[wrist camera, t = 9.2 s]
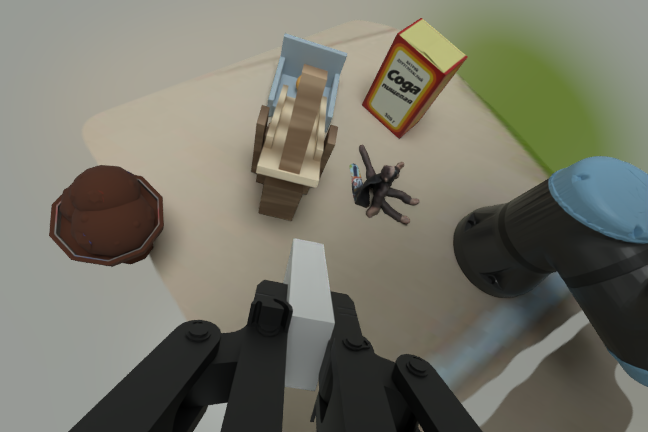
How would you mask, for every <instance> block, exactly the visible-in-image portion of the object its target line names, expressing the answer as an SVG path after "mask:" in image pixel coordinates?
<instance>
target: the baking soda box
mask: <svg viewBox="0 0 648 432" xmlns="http://www.w3.org/2000/svg"><path fill="white" fill-rule="evenodd" d="M466 59H467V56H466V55H465V54H464V53H462V52H461V51H460V50H459V49H458V48H456V47H455V46H454V45H453V44H452V43H451V42H449V41H448V40H447V39H446V38H445V37H443V36H442V35H441V34H440V33H439V32H438V31H436V30H435V29H434V28H433V27H432V26H430V25H429V24H428V23H427V22H426V21H425V20H423V19H422V18H420V19H419V20H417V21H416V22H414V23H413V24H411V25H410V26H408V27H406V28H405V29H403V30H402V31H400V32H399V33H397V35H396V37H395V39H394V41H393V43H392V45H391V47H390V49H389V51H388V53H387V55H386V57H385V59H384V61H383V63H382V65H381V67H380V69H379V71H378V73H377V75H376V77H375V79H374V81H373V84H372V86H371V88H370V90H369V92H368V94H367V96H366V98H365V100H364V102H363V104H362V106H363V107H365V108H366V109H367V110H368V111H369V112H370V113H371V114H372V115H373V116H374V117H376V118H377V119H378V120H379V121H380V122H381V123H382V124H383V125H384V126H385V127H387V128H388V129H389V130H390V131H391V132H392V133H393V134H394V135H395V136H396V137H398V138H399V139H400V138H401V137H402V136H403V135H404V134H405V133H406V132H408V131H409V130H410V129H411V128H412V127H413V126H414V125H415V124H417V123H418V122H419V120H420V119H421V118H422V117H423V115H424V114H425V113H426V111H427V110H428V109H429V107H430V106H431V105H432V103H433V102H434V101H435V99H436V98H437V97H438V95H439V94H440V93H441V91H442V90H443V89H444V88H445V86H446V85H447V84H448V82H449V81H450V80H451V78H452V77H453V76H454V74H455V73H456V72H457V70H458V69H459V68H460V66H461V65H462V64H463V62H464V61H465V60H466Z"/></svg>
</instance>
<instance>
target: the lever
mask: <svg viewBox="0 0 648 432" xmlns="http://www.w3.org/2000/svg"><path fill="white" fill-rule="evenodd" d="M327 75H328V71H326V70H323V69H319V68H316V67H313V66H310V65H307V64H304V66H303V70H302V74H301V78H300V82H299V86H298V90H297V94H296V98H292V97H289V96H287V91H288V87H289V86H288V85H284V84H283V87H282V90H281V93H280V96H279V99H278V102H277V105H276V109H275V112H274V115H273V118H272V121H271V124H270V127H269V130H268V133H267V136H266V141H265V144H264V147H263V150H262V153H261V156H260V159H259V162H258V165H257V170H256V173H259V174H263V175H267V176H271V177H275V178H279V179H283V180H286V181H290V182H294V183H298V184H302V185H306V186H310V187H314V188H317V185H318V182H319V173H320V161H321V156H322V153H323V147H324V133H325V119H326V105H327V97H325V96H323V92H324V89H325V85H326V82H327Z"/></svg>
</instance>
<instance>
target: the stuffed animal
mask: <svg viewBox="0 0 648 432" xmlns="http://www.w3.org/2000/svg"><path fill="white" fill-rule="evenodd" d="M359 150H360V153H361V156H362V159H363V162H364V164H365V166H366V178H367V180H366V182H365V183H364V184H363V183H362V179H361V175H360V171H359V168H358V166H357V165H355V164H351V165H350V172H351V176H352V192H353V197H354V200H355V201H356V202H355V204H357V205H360V206H363V207H364V208H367V207H369V204H370V201H369V198H370V194H369V187H370V188H372V189H373V195H374V197H373V201H372V205H371V207H370V208H369V209H368V210H367V212H366V215H367V216H368V217H369V218H371V217H372V216H374V215H377V214H378V213H379V211H380V207H381V208H382V210H383V212H384V213H385V214H388V215H389V216H391V217H392V218H393V219H395V220H396V221H398V222H403V223H405V224H408V223H409V222H410V219H409V218H408V217H407V216H403V215H402V214H400V213H398V212H397V211H396V210H394V209H393V208H392V207H391V206H390V205H389V204H388V203H387V202H386V201H385V198H384V197H385V196H390V197H396V198H399V199H400V200H402V201H403V202H404V203H406V204H410V205H415V204H418V203H419V199H414V198H411V197H410V196H409V195H407V194H406V193H405V192H403V191H400V190H397V189H393V188H391V187H390V186H391V185H392V182H393V181H394V179H397V178H398V177H399V172H400V169H401V168H402V167H404V162H400V163H398V164H397V166H393V167H392V166H387V165H384V167H383V169H382V170H381V173H379V174H377V175H376V173H375V171H374V169H373V167H372V165H371V162H370V158H369V156H368V153H367V151H366V149H365V147H364V145H360V147H359Z"/></svg>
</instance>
